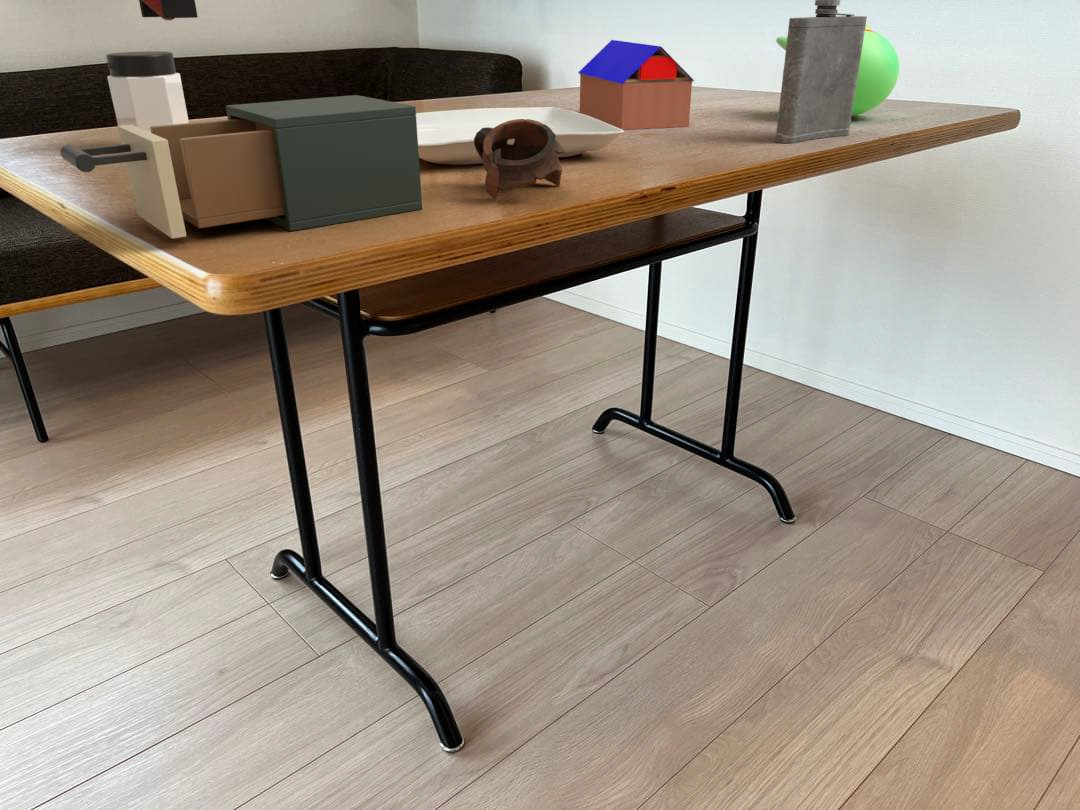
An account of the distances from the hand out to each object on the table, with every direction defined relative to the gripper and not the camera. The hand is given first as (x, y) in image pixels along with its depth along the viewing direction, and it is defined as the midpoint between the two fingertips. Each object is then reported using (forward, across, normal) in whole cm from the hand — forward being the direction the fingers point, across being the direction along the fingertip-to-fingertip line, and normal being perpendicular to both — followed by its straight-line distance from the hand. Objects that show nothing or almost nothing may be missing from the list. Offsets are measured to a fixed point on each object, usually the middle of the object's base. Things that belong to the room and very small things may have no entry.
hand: (169, 16), depth 75 cm
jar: (+17, +40, -7) cm, 44 cm away
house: (+17, +17, -76) cm, 80 cm away
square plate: (+17, +9, -42) cm, 46 cm away
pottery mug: (+18, -14, -28) cm, 36 cm away
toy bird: (+18, -2, -104) cm, 105 cm away
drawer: (+16, -9, +4) cm, 19 cm away
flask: (+18, -13, -83) cm, 85 cm away
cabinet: (+17, -9, -10) cm, 22 cm away
